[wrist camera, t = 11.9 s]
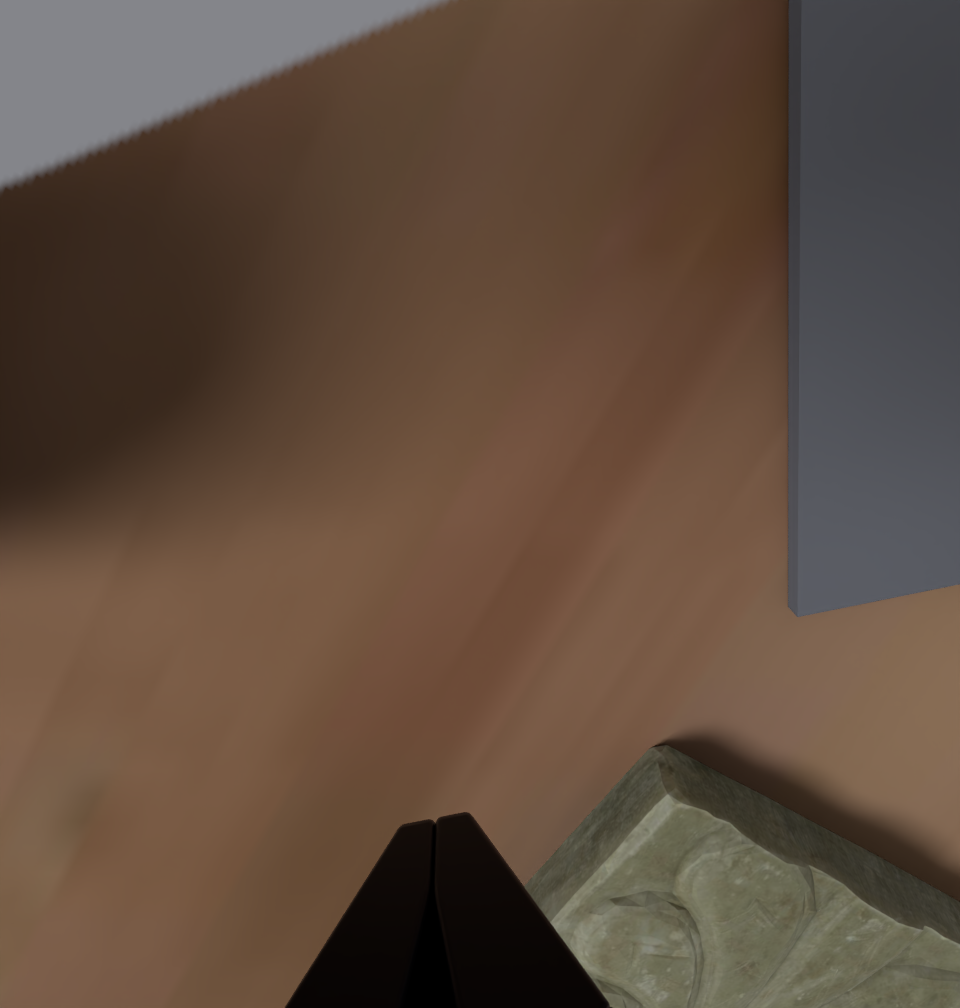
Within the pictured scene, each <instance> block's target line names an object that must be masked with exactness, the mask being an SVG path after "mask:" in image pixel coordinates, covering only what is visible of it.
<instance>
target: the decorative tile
mask: <svg viewBox="0 0 960 1008" xmlns="http://www.w3.org/2000/svg"><path fill="white" fill-rule="evenodd" d="M524 887H525V889H526V890H527V891H528V893H529V894H530V895H531V897H532V898H533V900H534V901H535V902H536V904H537V905H538V906H539V908H540V909H541V910H542V912H543V913H544V915H545V916H546V917H547V919H548V920H549V921H550V923H551V924H552V925H553V927H554V928H555V930H556V931H557V932H558V934H559V935H560V936H561V938H562V939H563V941H564V942H565V943H566V945H567V946H568V947H569V949H570V950H571V951H572V953H573V954H574V956H575V957H576V958H577V960H578V961H579V962H580V964H581V965H582V966H583V968H584V969H585V971H586V972H587V973H588V975H589V976H590V977H591V979H592V980H593V981H594V983H595V984H596V986H597V987H598V988H599V990H600V991H601V992H602V994H603V995H604V997H605V998H606V999H607V1001H608V1002H609V1004H610V1007H613V1008H960V902H959V901H957V900H955V899H953V898H952V897H950V896H948V895H947V894H945V893H943V892H941V891H939V890H938V889H936V888H934V887H932V886H930V885H929V884H927V883H925V882H923V881H922V880H920V879H918V878H916V877H914V876H912V875H911V874H909V873H907V872H905V871H904V870H902V869H900V868H898V867H896V866H895V865H893V864H891V863H889V862H887V861H886V860H884V859H882V858H880V857H878V856H877V855H875V854H873V853H871V852H869V851H867V850H866V849H864V848H862V847H860V846H858V845H856V844H854V843H852V842H850V841H848V840H846V839H844V838H842V837H841V836H839V835H837V834H835V833H833V832H831V831H829V830H827V829H825V828H823V827H822V826H820V825H818V824H816V823H814V822H812V821H810V820H808V819H807V818H805V817H803V816H801V815H799V814H797V813H795V812H794V811H792V810H790V809H788V808H786V807H784V806H782V805H781V804H779V803H777V802H775V801H773V800H771V799H770V798H768V797H766V796H764V795H762V794H760V793H758V792H756V791H754V790H752V789H750V788H748V787H746V786H744V785H742V784H740V783H738V782H736V781H734V780H732V779H730V778H728V777H727V776H725V775H723V774H721V773H719V772H717V771H715V770H713V769H711V768H709V767H707V766H706V765H704V764H702V763H700V762H698V761H696V760H694V759H692V758H691V757H689V756H687V755H685V754H683V753H681V752H679V751H677V750H676V749H674V748H672V747H670V746H668V745H663V746H657V747H652V748H650V749H649V750H648V751H647V752H646V753H645V754H644V755H643V756H642V757H641V758H640V759H639V760H638V761H637V762H636V764H635V765H634V766H633V767H632V768H631V769H630V770H629V771H628V772H627V773H626V774H625V775H624V776H623V778H622V779H621V780H620V781H619V782H618V783H617V784H616V785H615V786H614V788H613V789H612V790H611V791H610V792H609V793H608V794H607V796H606V797H605V798H604V799H603V800H602V801H601V802H600V803H599V804H598V805H597V807H596V808H595V809H594V810H593V811H592V812H591V813H590V814H589V815H588V816H587V817H586V819H585V820H584V821H583V822H582V823H581V824H580V825H579V826H578V827H577V829H576V830H575V831H574V832H573V833H572V834H571V835H570V836H569V837H568V838H567V839H566V840H565V841H564V843H563V844H562V845H561V846H560V847H559V849H558V850H557V851H556V852H555V853H554V854H553V855H552V856H551V857H550V858H549V860H548V861H547V862H546V863H545V864H544V865H543V866H542V867H541V868H540V869H539V870H538V872H537V873H536V874H535V875H534V876H533V877H532V878H531V879H530V881H529V882H528V883H527V884H526V885H525V886H524Z"/></svg>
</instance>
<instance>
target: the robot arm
mask: <svg viewBox="0 0 960 1008" xmlns="http://www.w3.org/2000/svg"><path fill="white" fill-rule="evenodd" d="M285 1008H613V1007H610V1004H609V1002H608V1001H607V999H606V998H605V997H604V995H603V994H602V992H601V991H600V990H599V988H598V987H597V986H596V984H595V983H594V981H593V980H592V979H591V977H590V976H589V975H588V973H587V972H586V971H585V969H584V968H583V966H582V965H581V964H580V962H579V961H578V960H577V958H576V957H575V956H574V954H573V953H572V951H571V950H570V949H569V947H568V946H567V945H566V943H565V942H564V941H563V939H562V938H561V936H560V935H559V934H558V932H557V931H556V930H555V928H554V927H553V925H552V924H551V923H550V921H549V920H548V919H547V917H546V916H545V915H544V913H543V912H542V910H541V909H540V908H539V906H538V905H537V904H536V902H535V901H534V900H533V898H532V897H531V895H530V894H529V893H528V891H527V890H526V889H525V887H524V886H523V885H522V883H521V882H520V880H519V879H518V878H517V876H516V875H515V874H514V872H513V871H512V869H511V868H510V867H509V865H508V864H507V863H506V861H505V860H504V859H503V857H502V856H501V854H500V853H499V852H498V850H497V849H496V848H495V846H494V845H493V844H492V842H491V841H490V839H489V838H488V837H487V835H486V834H485V833H484V831H483V830H482V829H481V827H480V826H479V824H478V823H477V822H476V820H475V819H474V818H473V816H472V815H471V814H470V813H467V812H463V813H458V814H453V815H448V816H443V817H440V818H438V819H437V821H436V824H435V822H434V821H433V820H431V819H428V820H422V821H417V822H412V823H407V824H403V825H402V826H400V827H399V829H398V830H397V831H396V833H395V834H394V836H393V838H392V839H391V841H390V842H389V844H388V846H387V847H386V849H385V850H384V852H383V853H382V855H381V857H380V858H379V860H378V861H377V863H376V864H375V866H374V868H373V869H372V871H371V872H370V874H369V875H368V877H367V879H366V880H365V882H364V883H363V885H362V887H361V888H360V890H359V891H358V893H357V894H356V896H355V898H354V899H353V901H352V902H351V904H350V905H349V907H348V909H347V910H346V912H345V913H344V915H343V916H342V918H341V920H340V921H339V923H338V924H337V926H336V927H335V929H334V931H333V932H332V934H331V935H330V937H329V939H328V940H327V942H326V943H325V945H324V946H323V948H322V950H321V951H320V953H319V954H318V956H317V957H316V959H315V961H314V962H313V964H312V965H311V967H310V968H309V970H308V972H307V973H306V975H305V976H304V978H303V980H302V981H301V983H300V984H299V986H298V987H297V989H296V991H295V992H294V994H293V995H292V997H291V998H290V1000H289V1002H288V1003H287V1005H286V1006H285Z"/></svg>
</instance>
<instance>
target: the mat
mask: <svg viewBox="0 0 960 1008" xmlns="http://www.w3.org/2000/svg"><path fill="white" fill-rule="evenodd" d="M958 584H960V0H789V320H788V607H789V608H790V609H791V610H792V611H793V613H794V614H795V615H796V616H797V617H800V616H805V615H810V614H815V613H820V612H825V611H830V610H835V609H839V608H844V607H849V606H854V605H859V604H864V603H869V602H874V601H879V600H884V599H889V598H894V597H899V596H904V595H909V594H914V593H918V592H923V591H928V590H933V589H938V588H943V587H948V586H953V585H958Z"/></svg>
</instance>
